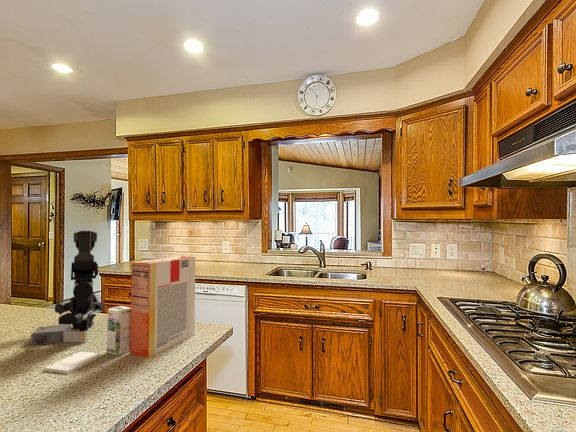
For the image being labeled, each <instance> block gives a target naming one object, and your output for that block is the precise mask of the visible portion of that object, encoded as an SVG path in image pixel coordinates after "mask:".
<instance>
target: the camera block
mask: <svg viewBox="0 0 576 432" xmlns="http://www.w3.org/2000/svg"><path fill="white" fill-rule="evenodd" d="M62 331H65V332H66V331H72V324H57V325H56V324H55V325H41V326H39V327H38V328H36V329H35V330H34V331H32V332H30V333H31V334H30V346H36V345H44V344H55V343H56V344H58V343H62V342H61V332H62Z"/></svg>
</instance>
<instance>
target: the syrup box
mask: <svg viewBox="0 0 576 432" xmlns="http://www.w3.org/2000/svg"><path fill="white" fill-rule="evenodd" d="M130 317H131V307H130V306H129V307H128V306H124V305H119V306H114V307H111V308H108V309H107V328H106V329H107V331H106V332H107V333H106V354H110V355H114V356H115V357H116V356H117V357H118V356H120V355H122V354H126V353H128V352H130Z"/></svg>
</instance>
